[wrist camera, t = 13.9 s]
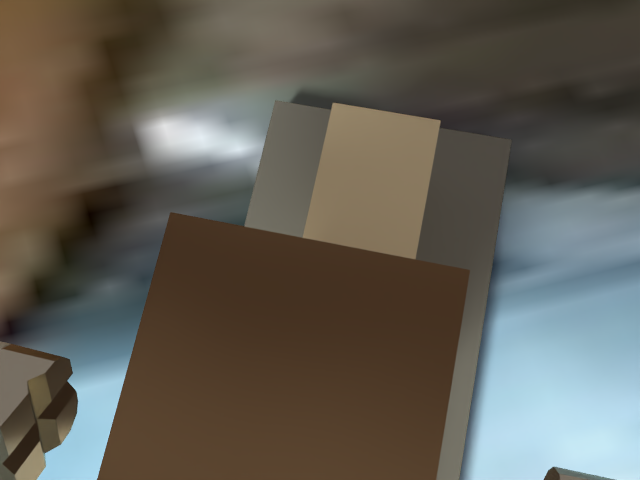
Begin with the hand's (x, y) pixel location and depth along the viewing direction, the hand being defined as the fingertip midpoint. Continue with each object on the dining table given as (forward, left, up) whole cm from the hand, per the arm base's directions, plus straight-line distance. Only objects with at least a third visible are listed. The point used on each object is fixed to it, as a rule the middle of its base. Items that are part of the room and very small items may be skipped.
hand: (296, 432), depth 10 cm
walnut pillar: (-1, 0, -8) cm, 8 cm away
